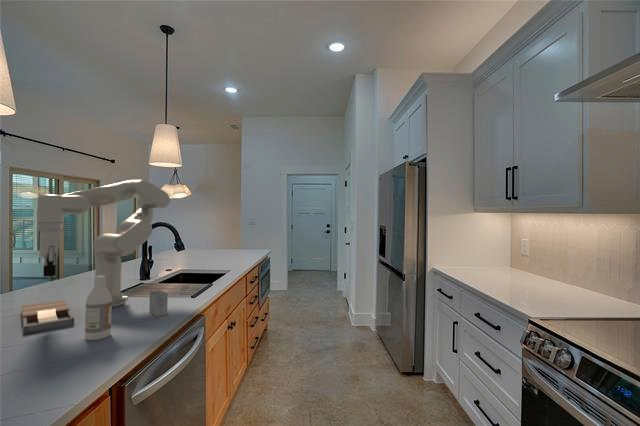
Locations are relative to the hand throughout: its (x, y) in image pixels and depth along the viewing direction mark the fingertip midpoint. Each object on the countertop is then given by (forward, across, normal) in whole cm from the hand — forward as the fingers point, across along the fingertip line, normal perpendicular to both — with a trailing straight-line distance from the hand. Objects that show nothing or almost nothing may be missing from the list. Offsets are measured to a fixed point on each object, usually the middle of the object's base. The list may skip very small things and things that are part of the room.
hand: (49, 275), depth 114 cm
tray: (+17, +6, 0) cm, 18 cm away
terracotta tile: (+15, +2, -1) cm, 16 cm away
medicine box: (+17, +18, +33) cm, 41 cm away
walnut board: (+17, -8, 0) cm, 19 cm away
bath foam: (+17, +30, +10) cm, 36 cm away
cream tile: (+14, +8, -1) cm, 16 cm away
